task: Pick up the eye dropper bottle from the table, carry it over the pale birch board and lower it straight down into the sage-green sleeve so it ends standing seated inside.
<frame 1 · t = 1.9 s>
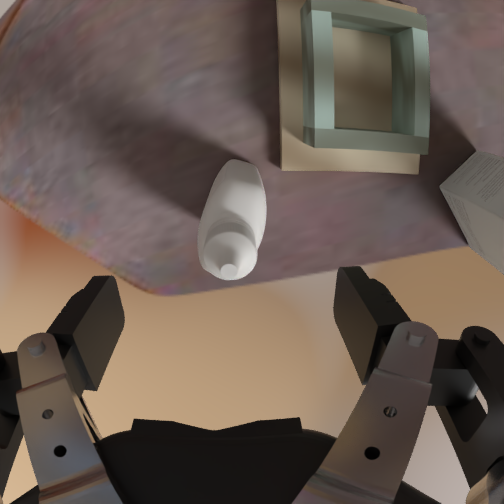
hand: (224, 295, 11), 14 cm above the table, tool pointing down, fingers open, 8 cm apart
eye dropper bottle: (233, 195, 24), on the table
skincare box: (470, 198, 25), on the table
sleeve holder: (352, 79, 20), on the table
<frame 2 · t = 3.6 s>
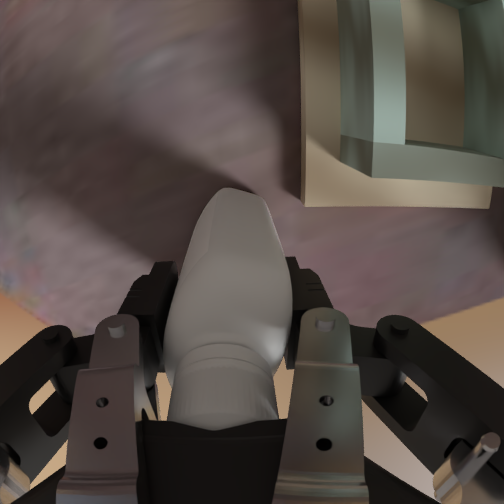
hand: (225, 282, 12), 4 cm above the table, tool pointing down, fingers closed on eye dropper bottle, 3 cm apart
eye dropper bottle: (227, 242, 16), on the table, touching gripper
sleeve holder: (409, 65, 12), on the table
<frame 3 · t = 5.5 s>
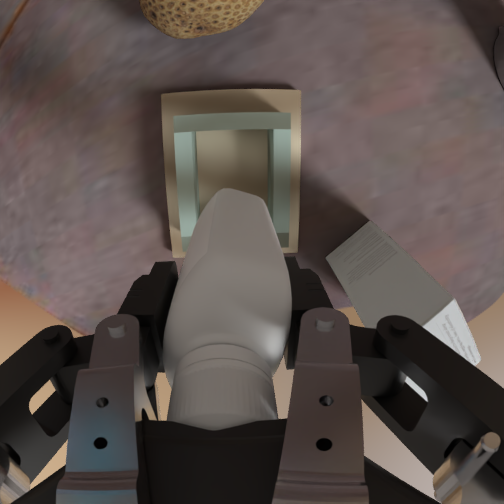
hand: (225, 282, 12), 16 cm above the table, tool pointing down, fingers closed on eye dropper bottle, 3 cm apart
eye dropper bottle: (226, 242, 16), point 12 cm above the table, touching gripper
natural sponge: (206, 6, 21), on the table
skincare box: (364, 263, 31), on the table
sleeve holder: (232, 173, 26), on the table
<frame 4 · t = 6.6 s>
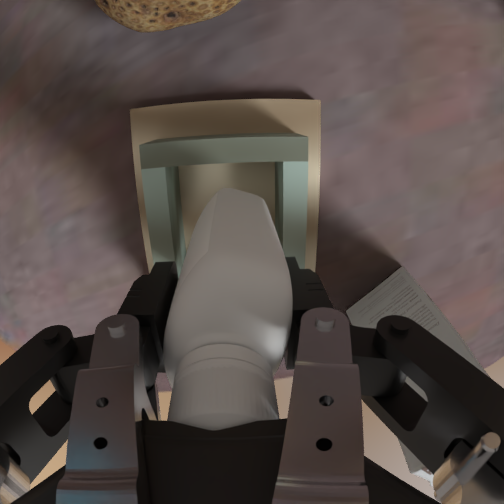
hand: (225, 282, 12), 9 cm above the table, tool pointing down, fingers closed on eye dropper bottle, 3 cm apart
eye dropper bottle: (227, 242, 16), point 5 cm above the table, touching gripper
skincare box: (391, 314, 25), on the table
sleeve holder: (228, 212, 20), on the table
when the fingers open (6 cm above the table, at t = 7.5 s): eye dropper bottle drops 1 cm, resting on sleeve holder.
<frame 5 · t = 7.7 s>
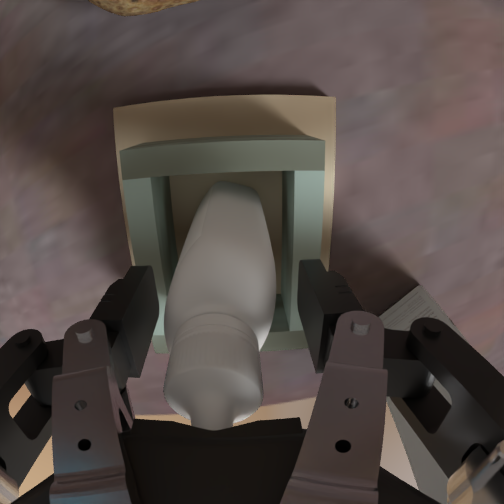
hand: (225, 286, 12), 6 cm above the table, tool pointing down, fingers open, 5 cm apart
eye dropper bottle: (224, 231, 17), point 1 cm above the table, touching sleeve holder
skincare box: (405, 334, 22), on the table
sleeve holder: (228, 226, 18), on the table
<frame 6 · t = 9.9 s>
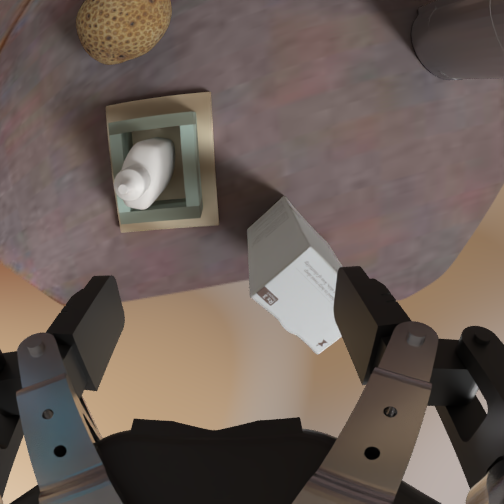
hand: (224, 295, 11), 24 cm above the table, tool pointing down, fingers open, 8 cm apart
eye dropper bottle: (159, 163, 31), point 1 cm above the table, touching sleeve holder
natural sponge: (138, 32, 26), on the table
skincare box: (285, 235, 37), on the table
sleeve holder: (162, 163, 32), on the table
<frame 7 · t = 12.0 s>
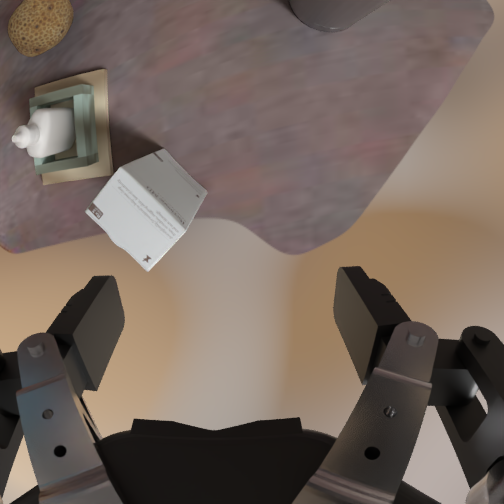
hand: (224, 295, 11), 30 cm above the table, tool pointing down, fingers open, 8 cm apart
eye dropper bottle: (68, 128, 34), point 1 cm above the table, touching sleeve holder
natural sponge: (60, 29, 29), on the table
skincare box: (169, 184, 39), on the table
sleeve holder: (72, 128, 35), on the table
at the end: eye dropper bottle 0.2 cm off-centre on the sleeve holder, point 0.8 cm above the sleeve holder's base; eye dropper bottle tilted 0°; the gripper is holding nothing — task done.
